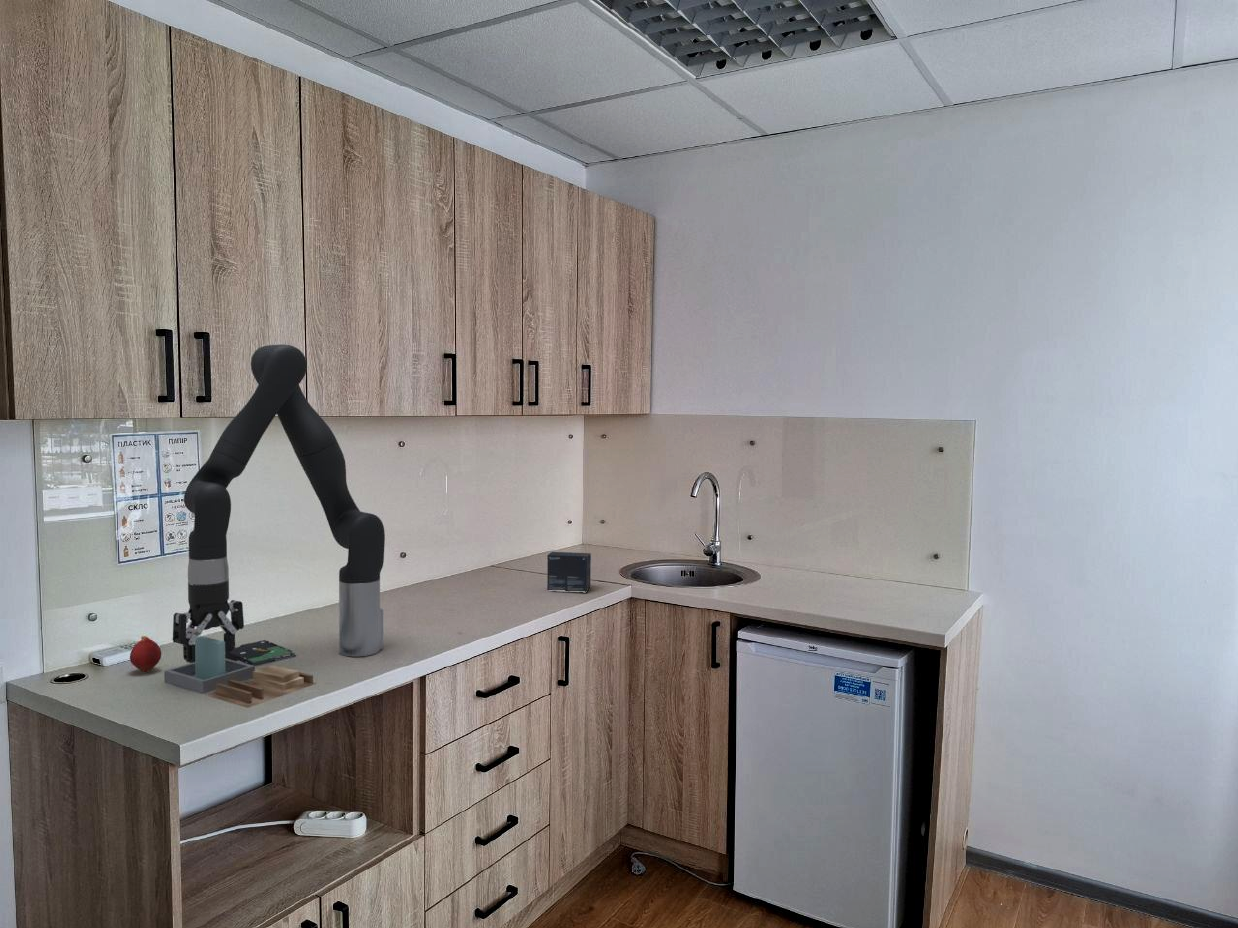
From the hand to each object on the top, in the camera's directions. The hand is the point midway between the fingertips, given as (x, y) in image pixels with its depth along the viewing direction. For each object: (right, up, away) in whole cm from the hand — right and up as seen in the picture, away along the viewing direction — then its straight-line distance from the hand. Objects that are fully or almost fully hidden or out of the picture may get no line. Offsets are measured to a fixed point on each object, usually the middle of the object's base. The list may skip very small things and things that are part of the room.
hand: (209, 656), depth 169 cm
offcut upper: (+14, -4, -1) cm, 15 cm away
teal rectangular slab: (0, -5, 0) cm, 5 cm away
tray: (0, -6, 0) cm, 6 cm away
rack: (+13, -7, -4) cm, 15 cm away
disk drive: (+2, -6, +18) cm, 19 cm away
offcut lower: (+15, -5, -1) cm, 16 cm away
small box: (+68, -1, +94) cm, 116 cm away
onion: (-18, -5, +8) cm, 20 cm away
